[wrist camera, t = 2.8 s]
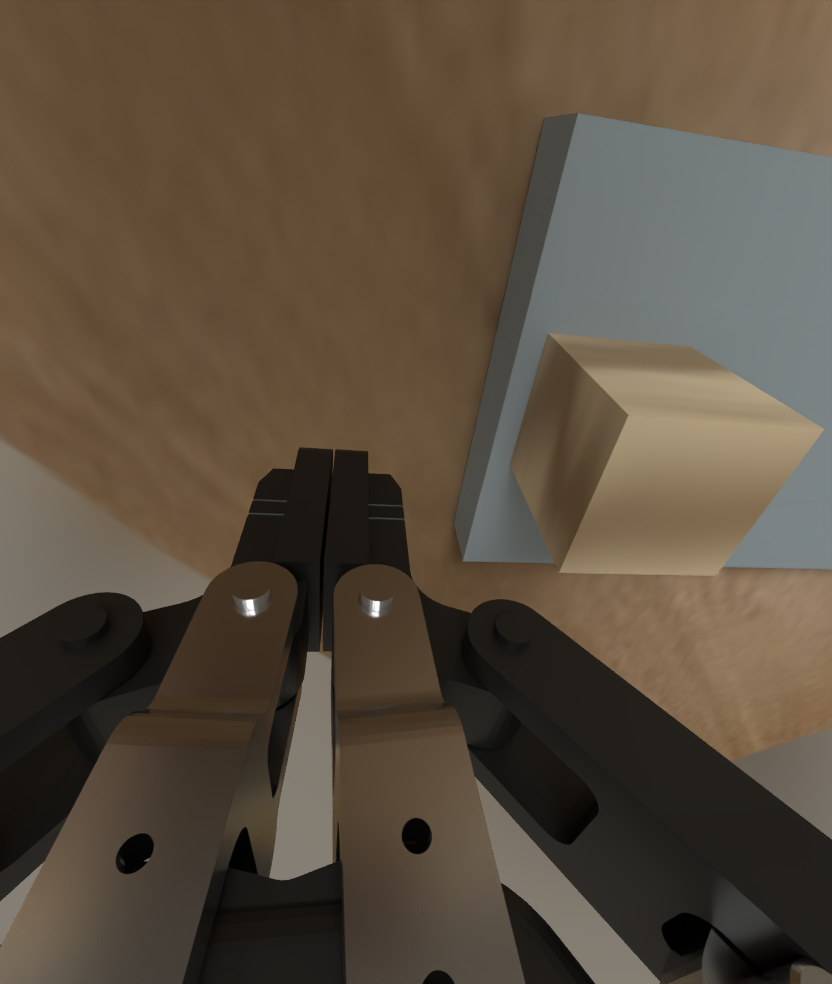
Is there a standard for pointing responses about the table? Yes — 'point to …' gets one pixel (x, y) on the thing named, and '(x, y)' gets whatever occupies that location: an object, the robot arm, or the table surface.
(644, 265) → the plate
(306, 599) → the robot arm
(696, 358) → the beech block
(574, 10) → the table surface
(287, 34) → the table surface
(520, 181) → the table surface
